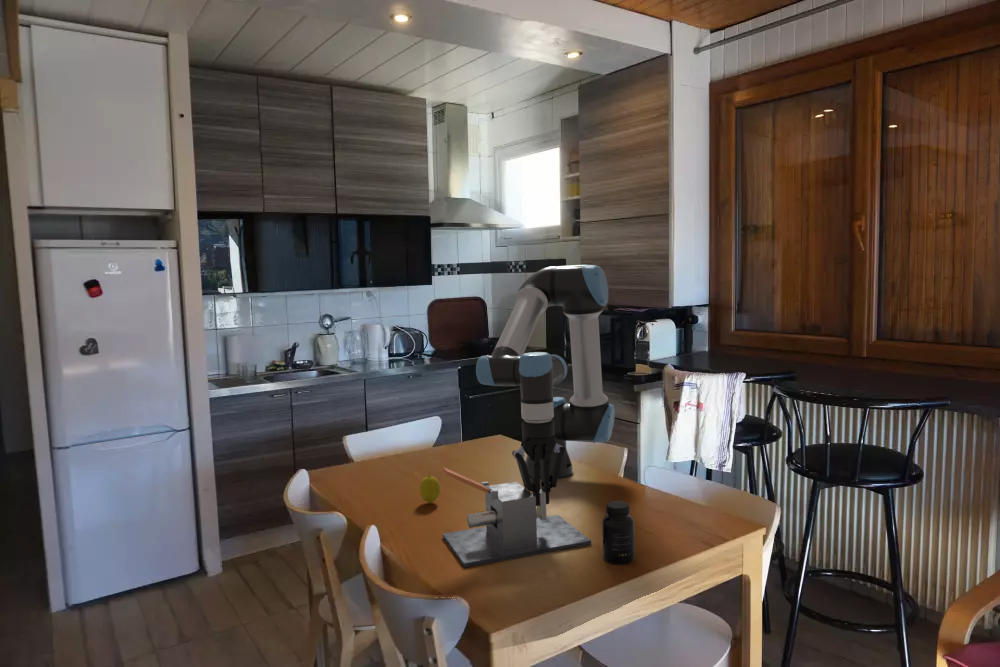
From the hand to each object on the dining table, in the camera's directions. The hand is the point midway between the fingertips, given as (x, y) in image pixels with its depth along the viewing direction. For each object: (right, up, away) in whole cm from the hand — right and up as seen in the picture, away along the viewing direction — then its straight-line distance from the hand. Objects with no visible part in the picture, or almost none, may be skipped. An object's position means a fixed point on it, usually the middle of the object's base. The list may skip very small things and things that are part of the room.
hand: (541, 518), depth 155 cm
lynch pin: (-9, -1, -3) cm, 10 cm away
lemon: (-29, -4, +26) cm, 39 cm away
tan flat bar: (-17, +10, -7) cm, 21 cm away
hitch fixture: (-7, -5, -2) cm, 9 cm away
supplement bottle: (+16, -5, -13) cm, 21 cm away
